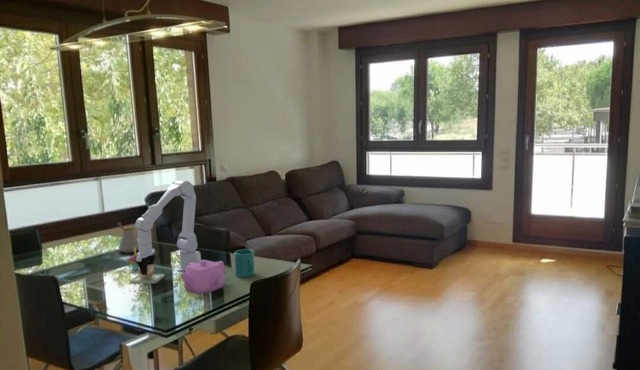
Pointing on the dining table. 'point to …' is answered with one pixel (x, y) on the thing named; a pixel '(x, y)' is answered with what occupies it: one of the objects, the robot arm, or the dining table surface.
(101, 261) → the dining table surface
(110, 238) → the dining table surface
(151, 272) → the maple cube
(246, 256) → the cup
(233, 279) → the dining table surface
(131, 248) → the coffee pot
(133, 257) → the cupcake
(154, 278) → the grey green picture frame
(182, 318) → the dining table surface
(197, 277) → the pink lidded box
